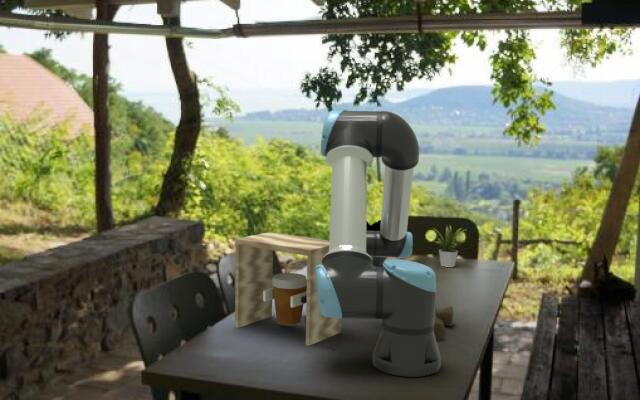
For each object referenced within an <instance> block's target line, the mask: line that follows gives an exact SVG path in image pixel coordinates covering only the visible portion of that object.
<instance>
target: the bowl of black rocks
mask: <svg viewBox="0 0 640 400" xmlns="http://www.w3.org/2000/svg"><path fill="white" fill-rule="evenodd" d="M380 227H381V219H379V220H378V221H375V222H374V223H372V224H371V223H369V222H368V221H367V220H366V231H380ZM387 258H388V257H372V259H373V266H374V267H377V266H379V265H380V264H383V263H384V261H385V260H387Z"/></svg>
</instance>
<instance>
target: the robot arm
mask: <svg viewBox="0 0 640 400" xmlns="http://www.w3.org/2000/svg"><path fill="white" fill-rule="evenodd" d="M320 154H321V156H322V157H325V161H326V163H327V165H329V167H331V181H330V182H331V184H330V185H331V186H330V188H331V189H330V213H329V214H330V215H329V216H330V217H329V252H328V253H327V254H325V255H324V256H323V258H322V264H319V265H317V266H316V267H315V269H316V281H317V293H318V303H319V310H320V313H321V314H322V315H323V316H325V317H331V318H339V319H341V320H342V319H350V320H351V319H353V320H356V319H357V320H359V319H360V320H381V331H380V334H379V336H378V339H377V342H376V345H375V347H374V350H373V353H372V365H373V366H374V367H375V369H376V370H379V371H381V372H383V373H386V374H389V375H392V376H399V377H408V378H411V377H413V378H416V377H418V378H419V377H424V376H425V377H426V375H427V376H430V374H431V375H434V374H435V372H436V373H438V372H439V371H440V370H441V368H440V367H442V365H441V364H442V363H441V362H442V358H441V353H440V349H439V347H438V346H439V345H438V342H437V340H436V339H435V335H434V319H435V308H436V293H437V289H438V288H437V280H436V279H437V277H436V273H435V271H434V269H432V268H431V267H430V266H427V265H425V264H422V263H419V262H417V261H412V260H411V261H410V260H407V259H400V258H409V257H411V256H412V255H413V245H414V244H413V233H412V232H410V231H408V225H409V224H408V223H409V214H410V204H411V195H412V185H413V177H414V168H415V167H417V166H418V164H419V162H420V147H419V141H418V139H417V136H416V134H415V132H414V130H413V128H412V127H411V125H410V124H409V123H408V122H407V121H406V120H405V119H404V118H403V117H402V116H400V115H399V114H397V113H394V112H392V111H388V110H379V111H377V110H347V109H342V110H330V111H329V112H328V113H326V115H325V117H324V120H323V126H322V132H321V141H320ZM374 158H380V159H381V163H382V164H383V165H384V171H383V188H382V203H381V216H380V220H381V227H380V231H366V221H367V209H368V208H367V202H368V201H367V190H368V189H367V181H368V171H367V170H368V168H369V167H371V165H372V164H373V162H374ZM372 257H387V258H388V259H385V260H384V261H383V262H382V266H373V259H372ZM269 300H272V301H273V300H274V292H273V287H272V288H271V289H268V290H265V291H263V301H265V302H266V301H269ZM306 302H307V285H306V289H305V292H303V293H300V294H297V295H294V296H291V305H290V307H292V308H293V307H296V306H299V305H302V304H303V305H305V304H306ZM439 369H440V370H439ZM438 370H439V371H438ZM437 371H438V372H437ZM433 373H434V374H433Z"/></svg>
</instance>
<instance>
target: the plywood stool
mask: <svg viewBox="0 0 640 400" xmlns="http://www.w3.org/2000/svg"><path fill="white" fill-rule="evenodd" d="M274 251H275V252H281V253H288V254H294V255H300V256H306V257H307V258H306V261H307V262H306V264H307V265H306V266H307V267H306V279H307V302H306V303H305V304H306V306H305V307H306V308H305V309H306V310H305V313H306V314H305V315H306V316H305V346H309V347H310V346H311V345H314V344H316V343H320V342H322V341H323V340H326V339H329V338H331V337H333V336H335V335H338V334H340V333H342V319H339V318H331V317H325V316H323V315H322V314H321V313H320V310H319V303H318V293H317V281H316V269H315V267H316V266H317V265H319V264H322V258H323V256H324V255H325V254H327V253H328V252H329V240H328V239H323V238H321V239H320V238H314V237H307V236H301V235H300V236H299V235H293V234H285V233H280V232H271V231H270V232H269V231H268V232H264V233H259V234H254V235H253V234H252V235H249V236H243V237H242V236H241V237H237V238H235V269H234V270H235V275H234V277H235V283H234V284H235V286H234V290H235V292H234V293H235V294H234V295H235V296H234V298H235V299H234V301H235V303H234V306H235V307H234V309H235V310H234V311H235V312H234V318H235V319H234V327H235V328H237V329H239V328H242V327H246V326H249V325H250V324H253V323H256V322H259V321H262V320H265V319H268V318H271V317H273V299H272V300H269V301H266V302H265V301H263V291H265V290H268V289H271V288H273V285H272V283H271V280H272V279H273V276H274V275H273V272H274V270H273V269H274V268H273V266H274V265H273V262H274V261H273V260H274Z"/></svg>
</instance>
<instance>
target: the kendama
mask: <svg viewBox="0 0 640 400" xmlns="http://www.w3.org/2000/svg"><path fill="white" fill-rule="evenodd" d="M453 325H454V307H453V306H452V305H451V306H447V307H445V308H438V309H437V308H436V307H435V319H434V335H435V339H441V340H442V339H443V338H444V337H445V335H446V327H448V326H450V327H449V328H452V327H453ZM445 326H446V327H445ZM451 326H452V327H451Z"/></svg>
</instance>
